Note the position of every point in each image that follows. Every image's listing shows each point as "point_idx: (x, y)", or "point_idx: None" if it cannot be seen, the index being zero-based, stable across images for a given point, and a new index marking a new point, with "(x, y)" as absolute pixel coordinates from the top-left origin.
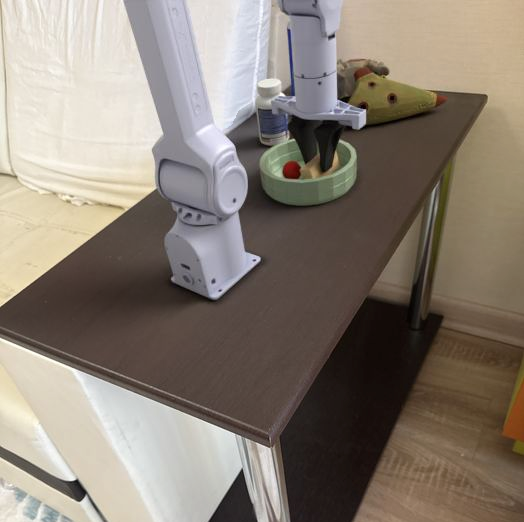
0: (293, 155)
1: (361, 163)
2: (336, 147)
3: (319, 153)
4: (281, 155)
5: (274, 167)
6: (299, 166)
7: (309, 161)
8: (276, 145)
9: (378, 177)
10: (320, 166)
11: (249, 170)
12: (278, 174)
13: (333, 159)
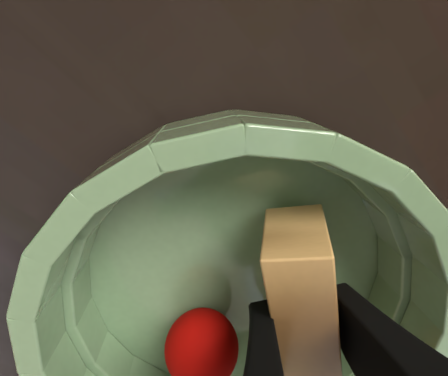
0: (83, 261)
1: (314, 48)
2: (421, 342)
3: (277, 310)
4: (63, 313)
5: (98, 335)
6: (230, 352)
7: (282, 364)
8: (24, 366)
9: (439, 103)
10: (345, 356)
11: (8, 339)
12: (130, 323)
13: (366, 299)
